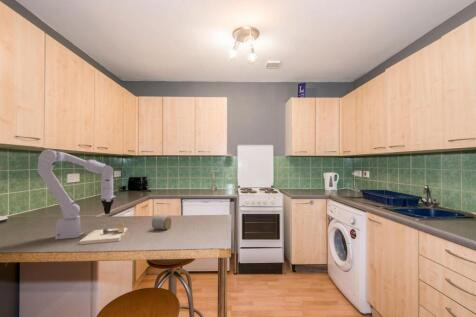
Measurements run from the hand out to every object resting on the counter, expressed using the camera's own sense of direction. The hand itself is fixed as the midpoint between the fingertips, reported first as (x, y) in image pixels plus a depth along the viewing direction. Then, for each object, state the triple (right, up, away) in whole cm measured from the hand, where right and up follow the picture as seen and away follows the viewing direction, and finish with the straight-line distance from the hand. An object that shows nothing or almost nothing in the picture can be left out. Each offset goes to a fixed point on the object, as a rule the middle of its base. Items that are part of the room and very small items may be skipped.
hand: (107, 213), depth 124 cm
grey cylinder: (+28, -10, +5) cm, 30 cm away
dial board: (+4, -9, -9) cm, 14 cm away
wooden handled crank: (+8, -7, -9) cm, 14 cm away
